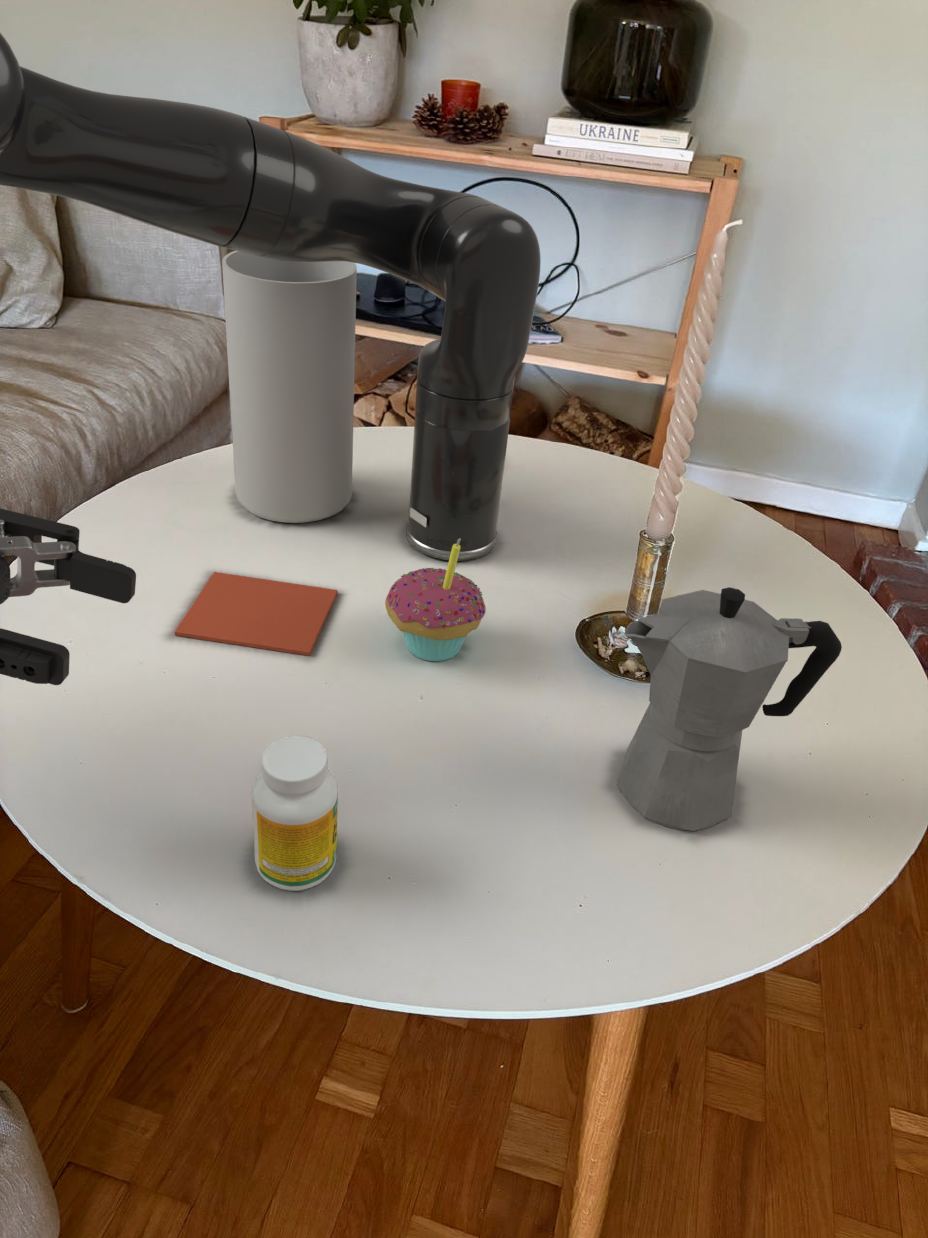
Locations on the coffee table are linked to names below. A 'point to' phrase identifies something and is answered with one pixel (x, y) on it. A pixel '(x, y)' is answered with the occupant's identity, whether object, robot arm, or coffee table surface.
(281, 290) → the cylinder vase
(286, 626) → the square tile
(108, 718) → the coffee table surface
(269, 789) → the supplement bottle
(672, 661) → the coffeepot
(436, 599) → the cupcake
